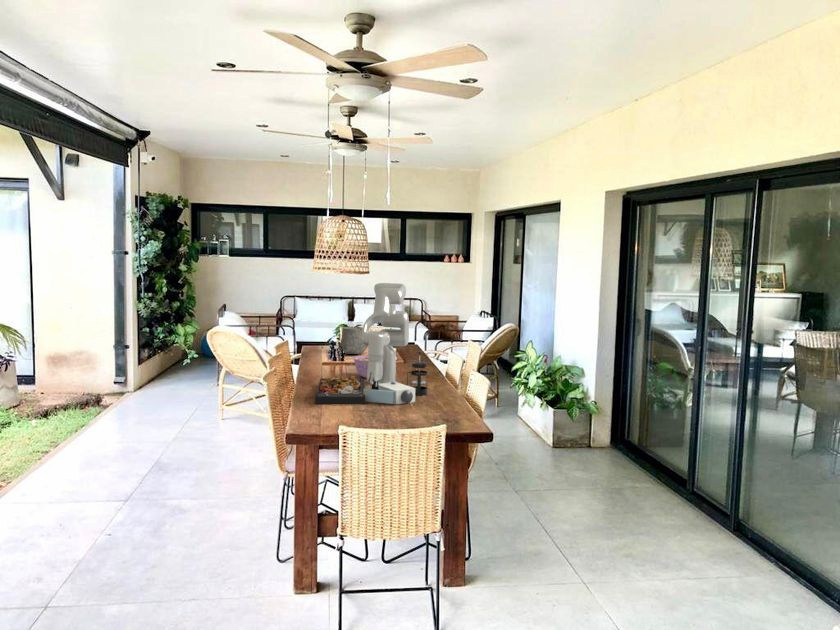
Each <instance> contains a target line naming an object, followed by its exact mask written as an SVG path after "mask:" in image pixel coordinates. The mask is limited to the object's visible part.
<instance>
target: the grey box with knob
mask: <svg viewBox="0 0 840 630" xmlns="http://www.w3.org/2000/svg"><path fill="white" fill-rule="evenodd" d="M397 382H398V381H397ZM397 382H390V383H382V384H379V390H383V391H393V392H395V391H396V392H397V394H396V404H394V405H395V406H396V405H402V404H410V403H415V402H416V396H415V388H413V386H411V385H408V386H407V384H403V383H400V382H398V383H397Z"/></svg>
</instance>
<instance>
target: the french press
mask: <svg viewBox="0 0 840 630" xmlns="http://www.w3.org/2000/svg"><path fill="white" fill-rule="evenodd" d="M415 353H417V354H418V356H419V361H412V362H411V367H412V368H413V369H415V370H411V371H407V375H406V376H407V377H406V385H407V386H409V374H410V376H414V377H415V376H416V377H417V380H413V381H412V380H411V385H414V386H412V387H413V388H415V397H416V396H418V397H423V396H422V395H425V396H428V386H422V385H428V381H429V380H428V378H429V376H428V375H429V372H428V371H427V370H421V369H426V367H427V365H429V362H427V361H421V356H422V354H424V351H421V350H418V351H416V352H415ZM416 369H418V370H416ZM425 376H426V381H425V380H422V377H425Z"/></svg>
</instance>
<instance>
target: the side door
mask: <svg viewBox="0 0 840 630" xmlns="http://www.w3.org/2000/svg"><path fill="white" fill-rule="evenodd" d="M396 394H397V392H396V391H395V392H393V391H383V390H373V389H372V388H371V389H369V388H365V389H363V395H365V402H371V403H381V404H389V405H395V404H396ZM396 405H397V404H396Z"/></svg>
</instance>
